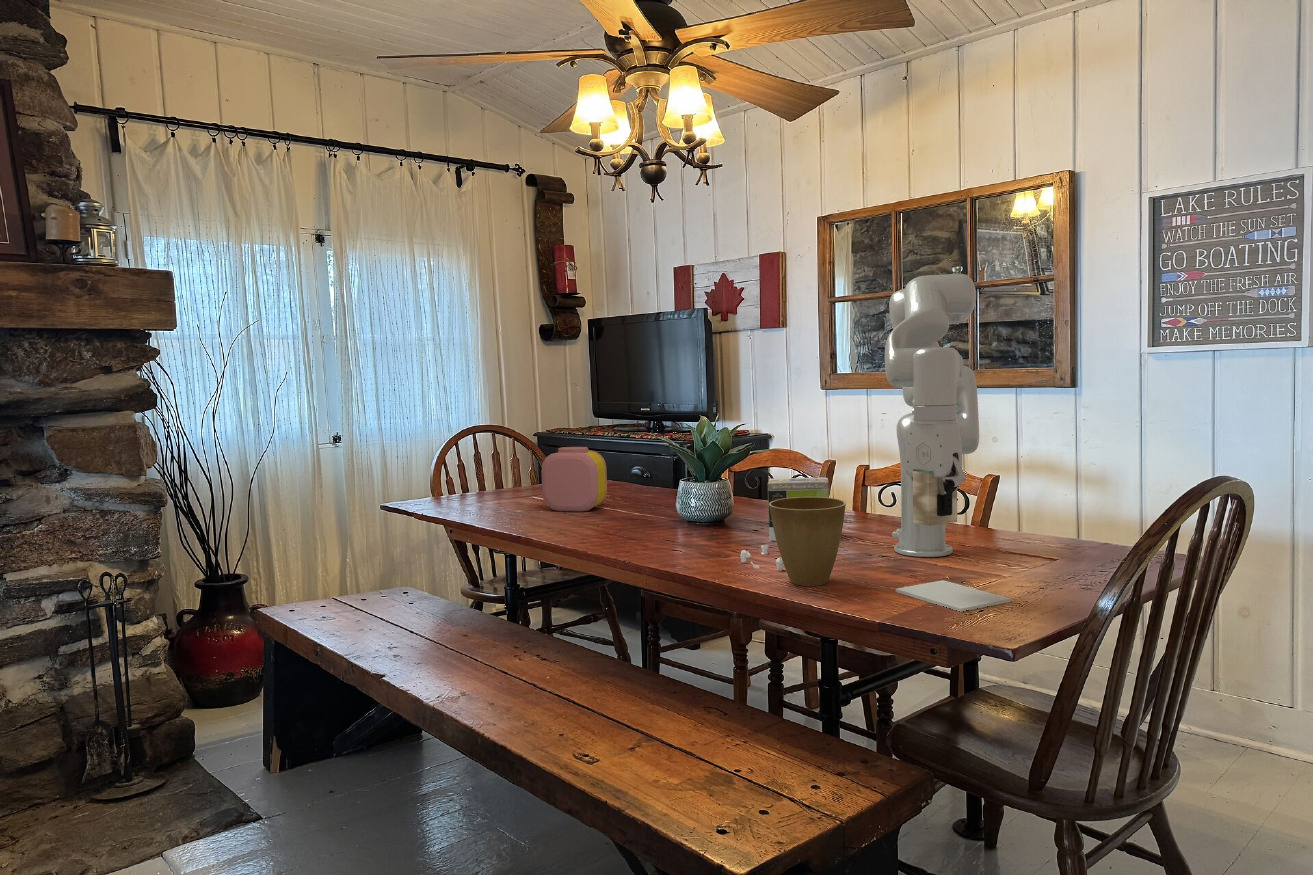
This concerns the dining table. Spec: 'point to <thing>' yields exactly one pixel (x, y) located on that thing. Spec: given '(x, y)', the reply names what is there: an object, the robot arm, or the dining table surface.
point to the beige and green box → (929, 500)
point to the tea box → (794, 492)
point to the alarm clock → (574, 479)
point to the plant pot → (808, 536)
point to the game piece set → (764, 551)
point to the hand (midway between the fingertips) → (935, 512)
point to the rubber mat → (953, 595)
